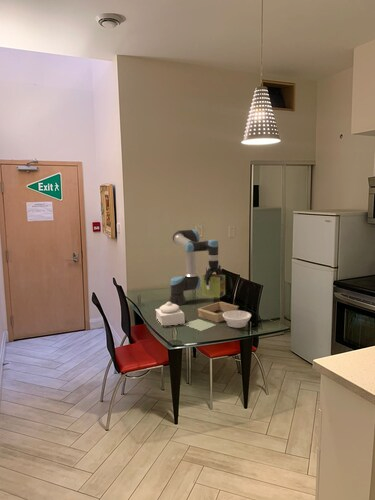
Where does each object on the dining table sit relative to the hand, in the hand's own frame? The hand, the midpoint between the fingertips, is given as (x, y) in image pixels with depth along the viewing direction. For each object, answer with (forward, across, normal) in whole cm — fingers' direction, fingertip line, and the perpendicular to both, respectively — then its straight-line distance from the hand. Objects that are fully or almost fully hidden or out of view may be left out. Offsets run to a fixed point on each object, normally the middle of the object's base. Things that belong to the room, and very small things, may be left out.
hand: (213, 287), depth 290 cm
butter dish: (+24, -30, +19) cm, 43 cm away
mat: (+24, -19, -2) cm, 31 cm away
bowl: (+25, -1, -23) cm, 34 cm away
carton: (+24, +6, +1) cm, 25 cm away
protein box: (+6, 0, 0) cm, 6 cm away
